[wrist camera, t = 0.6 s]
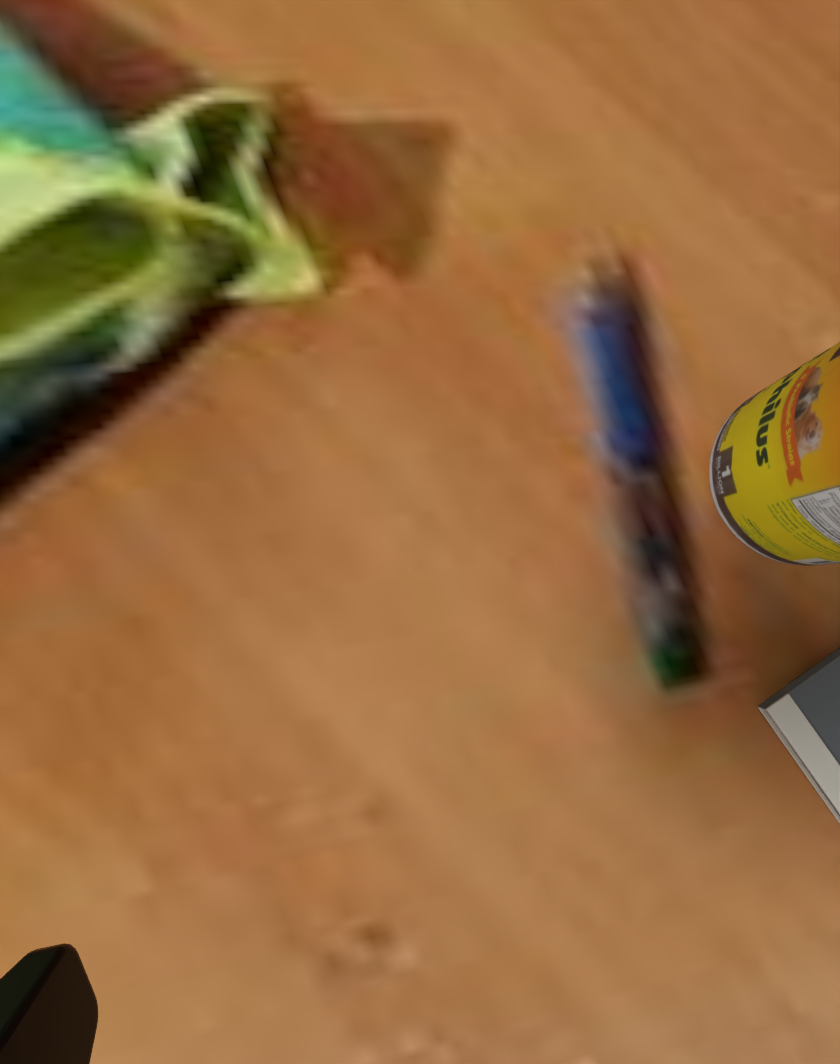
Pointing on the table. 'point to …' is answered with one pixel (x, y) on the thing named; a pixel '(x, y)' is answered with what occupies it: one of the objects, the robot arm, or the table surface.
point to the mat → (812, 726)
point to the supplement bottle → (784, 466)
